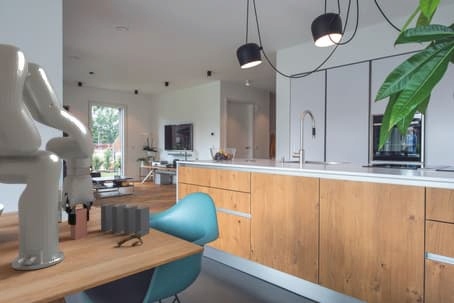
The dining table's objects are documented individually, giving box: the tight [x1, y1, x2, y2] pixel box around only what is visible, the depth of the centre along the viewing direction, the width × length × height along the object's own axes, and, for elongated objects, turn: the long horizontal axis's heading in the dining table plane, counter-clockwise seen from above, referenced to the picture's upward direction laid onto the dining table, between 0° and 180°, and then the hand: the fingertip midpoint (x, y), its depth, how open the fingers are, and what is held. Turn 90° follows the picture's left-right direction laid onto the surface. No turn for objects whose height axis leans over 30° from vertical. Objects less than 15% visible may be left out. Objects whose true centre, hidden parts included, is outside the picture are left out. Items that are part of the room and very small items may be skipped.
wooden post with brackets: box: [116, 231, 144, 248], centre depth 96 cm, size 2×8×4 cm, turn 105°
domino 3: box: [111, 203, 127, 234], centre depth 112 cm, size 2×5×10 cm, turn 158°
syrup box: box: [58, 187, 68, 223], centre depth 128 cm, size 6×6×14 cm
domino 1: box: [70, 207, 88, 241], centre depth 104 cm, size 2×5×10 cm, turn 158°
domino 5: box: [135, 206, 150, 238], centre depth 108 cm, size 2×5×10 cm, turn 158°
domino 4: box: [123, 204, 139, 236], centre depth 110 cm, size 2×5×10 cm, turn 158°
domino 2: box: [100, 202, 116, 233], centre depth 114 cm, size 2×5×10 cm, turn 158°
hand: (79, 222), depth 104 cm, fingers closed on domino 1, 4 cm apart
